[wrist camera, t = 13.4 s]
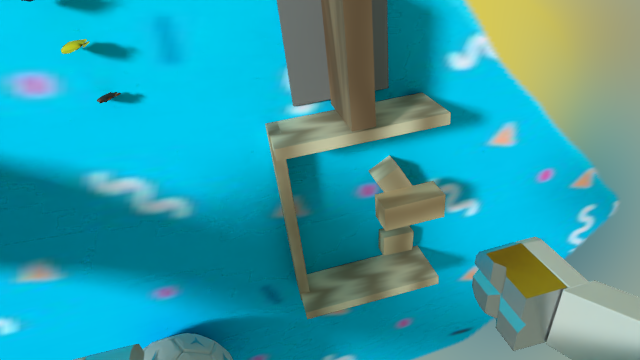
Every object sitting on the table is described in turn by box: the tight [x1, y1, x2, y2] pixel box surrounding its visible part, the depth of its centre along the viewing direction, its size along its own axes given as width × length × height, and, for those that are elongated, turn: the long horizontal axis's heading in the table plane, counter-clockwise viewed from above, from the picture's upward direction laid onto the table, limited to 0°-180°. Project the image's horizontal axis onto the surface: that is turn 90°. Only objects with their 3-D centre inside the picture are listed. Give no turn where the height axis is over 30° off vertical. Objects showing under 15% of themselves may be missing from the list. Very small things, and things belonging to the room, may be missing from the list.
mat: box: [277, 0, 388, 106], centre depth 37 cm, size 10×11×1 cm
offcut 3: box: [379, 226, 414, 256], centre depth 52 cm, size 4×3×2 cm
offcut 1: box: [369, 155, 413, 192], centre depth 47 cm, size 3×8×3 cm, turn 36°
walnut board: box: [321, 0, 376, 132], centre depth 34 cm, size 2×12×7 cm, turn 7°
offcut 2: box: [375, 181, 445, 231], centre depth 44 cm, size 3×7×3 cm, turn 97°
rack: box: [265, 93, 451, 319], centre depth 45 cm, size 17×23×6 cm
